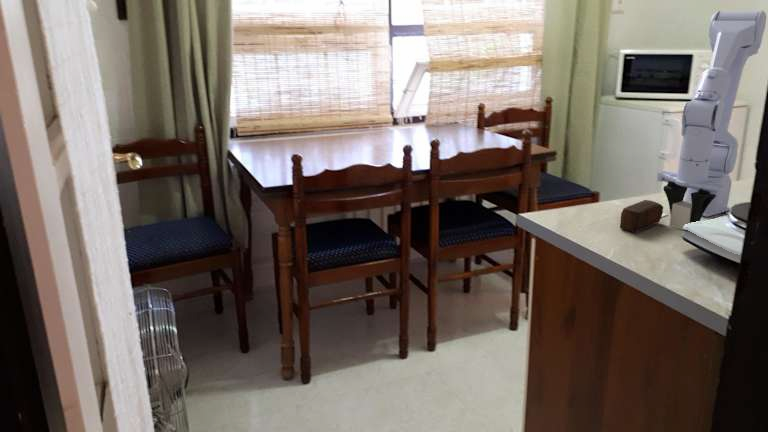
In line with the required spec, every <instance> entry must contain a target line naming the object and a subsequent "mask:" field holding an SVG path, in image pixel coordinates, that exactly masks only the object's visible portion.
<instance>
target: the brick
mask: <svg viewBox="0 0 768 432" xmlns="http://www.w3.org/2000/svg"><path fill="white" fill-rule="evenodd" d="M663 210H664V206H663V205H662V204H660V203H658V202H656V201H653V200H649V199H644V200H642V201H639V202H636V203H635V204H631V205H628V206H626V207H623V208H622V211H621V213H620V224H619V228H620V229H621V230H624V231H627V232H631V233H638V232H639V231H642V230H645V229H647V228H649V227H652V226H653V225H655V224H657V223H659V222H661V216H662V213H664V211H663Z"/></svg>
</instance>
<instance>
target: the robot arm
mask: <svg viewBox="0 0 768 432" xmlns="http://www.w3.org/2000/svg"><path fill="white" fill-rule="evenodd" d="M766 25H767V13H766V12H765V11H764V10H759V11H757V10H756V11H720V10H717V11H715V13H713V14H712V16H711V18H710V22H709V27H708V37H709V45H710V49H711V53H712V56H711V58H710V59H711V60H710V64H709V68H708V69H705V70H704V71H703V72H701V73H700V76H699V79H698V81H697V83H696V87H695V89H694V92H693V95H692V97H691V100H690V101H686V102H685V105H684V107H683V110H682V115H681V136H682V141H681V146H680V153H679V158H678V159H679V160H678V166H677V172H671V171H666V170H663V171H658V172H657V180H656V181H657V182H665V183H666V185H663V191H664V194H665V196H666V198H667V201H668V207H669V214H670V215H671V212H672V205H673V204H674V203H678V202H682V201H687V202H691V203H692V212H691V217H690V223H691V222H696V221H700V222H701V219H702V217H705V218H706V217H707V218H708V217H710V216H711V217H712V216H715V215H719V214H722V213H724V212H723V211H726V212H729V211H730V210H729V209H731V210H732V208H731V207H728V204H729V199H730V194H731V190H732V179H731V177H730V174H731V173H732V172H733V171H734V169H735V167H736V166H735V165H736V162H737V158H738V149H739V142H738V139H737V138H736V137H735V136H734V135H732V133H730V132H729V131H728V130H729V126H730V122H731V118H732V114H733V111H734V107H735V102H736V98H737V93H738V90H739V85H740V82H741V77H742V73H743V70H744V67H745V65H746V63H747V61H748V59H749V58H750V57H751V56H754V55H756V54H758V53H759V49H760V48H761V44H762V41H763V36H764V33H765V28H766ZM728 210H729V211H728ZM721 212H722V213H721Z"/></svg>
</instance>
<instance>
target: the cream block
mask: <svg viewBox="0 0 768 432" xmlns="http://www.w3.org/2000/svg"><path fill="white" fill-rule="evenodd" d="M691 212H692V203H691V202H687V201H685V200H683V201H682V202H678V203H674V204H673V205H672V212H671V214H670V219H669V225H668V226H669V227H673V228H675V229H678V230H681V231H684V230H683V226H684V225H685V224H688V223H690V217H691Z"/></svg>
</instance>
